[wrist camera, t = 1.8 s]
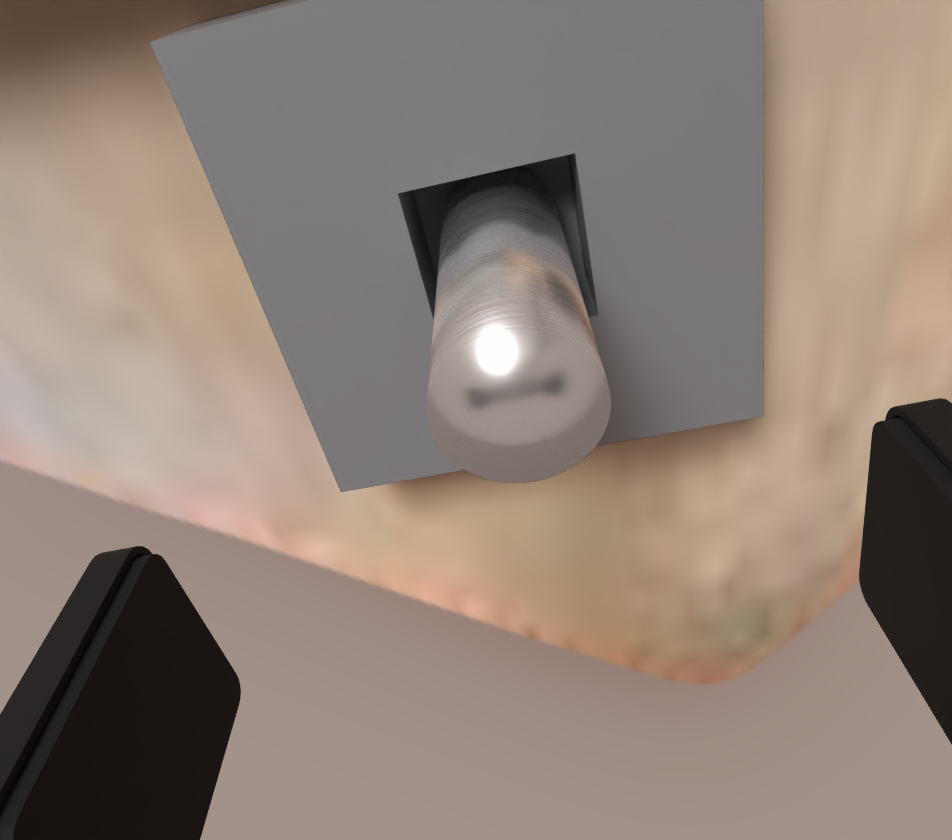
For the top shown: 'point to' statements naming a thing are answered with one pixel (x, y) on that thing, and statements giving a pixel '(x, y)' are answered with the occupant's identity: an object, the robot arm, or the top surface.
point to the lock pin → (511, 336)
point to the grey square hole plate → (479, 152)
